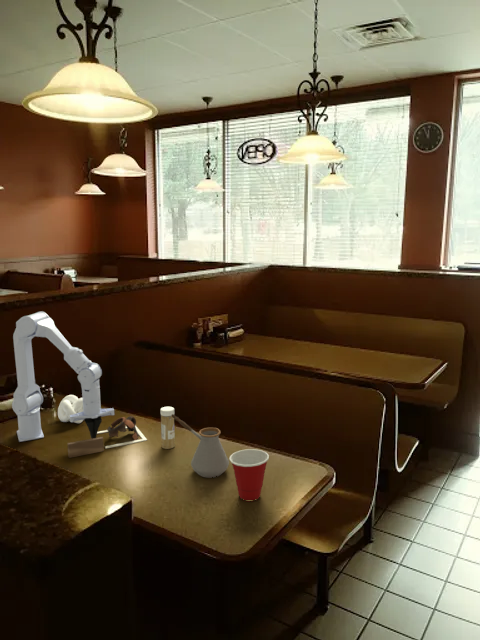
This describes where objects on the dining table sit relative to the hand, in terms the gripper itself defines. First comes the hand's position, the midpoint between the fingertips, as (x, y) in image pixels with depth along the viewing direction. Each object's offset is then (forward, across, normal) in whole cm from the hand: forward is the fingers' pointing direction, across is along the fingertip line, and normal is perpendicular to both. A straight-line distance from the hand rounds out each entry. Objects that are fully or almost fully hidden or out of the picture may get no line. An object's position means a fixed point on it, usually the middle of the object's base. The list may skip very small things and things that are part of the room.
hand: (93, 437), depth 177 cm
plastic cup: (+2, +30, -55) cm, 63 cm away
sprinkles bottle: (+2, +21, -15) cm, 26 cm away
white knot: (+2, -2, +23) cm, 23 cm away
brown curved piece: (+2, +11, -1) cm, 11 cm away
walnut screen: (+1, -4, -8) cm, 9 cm away
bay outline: (+1, +9, 0) cm, 9 cm away
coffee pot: (+2, +24, -33) cm, 41 cm away
